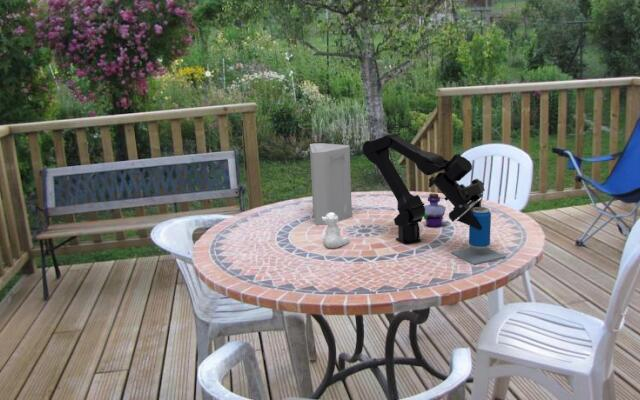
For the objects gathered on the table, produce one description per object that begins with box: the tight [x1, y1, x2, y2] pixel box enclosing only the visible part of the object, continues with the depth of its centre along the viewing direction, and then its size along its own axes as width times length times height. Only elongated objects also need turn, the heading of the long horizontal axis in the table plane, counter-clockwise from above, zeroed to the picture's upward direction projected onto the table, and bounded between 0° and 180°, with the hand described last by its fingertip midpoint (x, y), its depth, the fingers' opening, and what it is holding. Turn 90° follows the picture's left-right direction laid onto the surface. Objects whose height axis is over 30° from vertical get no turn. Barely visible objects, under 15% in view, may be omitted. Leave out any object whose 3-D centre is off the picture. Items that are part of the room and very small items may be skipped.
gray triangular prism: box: [309, 142, 353, 226], centre depth 247 cm, size 19×15×28 cm
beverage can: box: [468, 206, 492, 248], centre depth 201 cm, size 6×6×12 cm
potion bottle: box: [423, 192, 447, 229], centre depth 233 cm, size 9×9×12 cm
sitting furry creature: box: [322, 212, 351, 249], centre depth 217 cm, size 10×9×12 cm
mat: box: [450, 246, 507, 266], centre depth 202 cm, size 12×12×1 cm
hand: (484, 226), depth 200 cm, fingers closed on beverage can, 6 cm apart
